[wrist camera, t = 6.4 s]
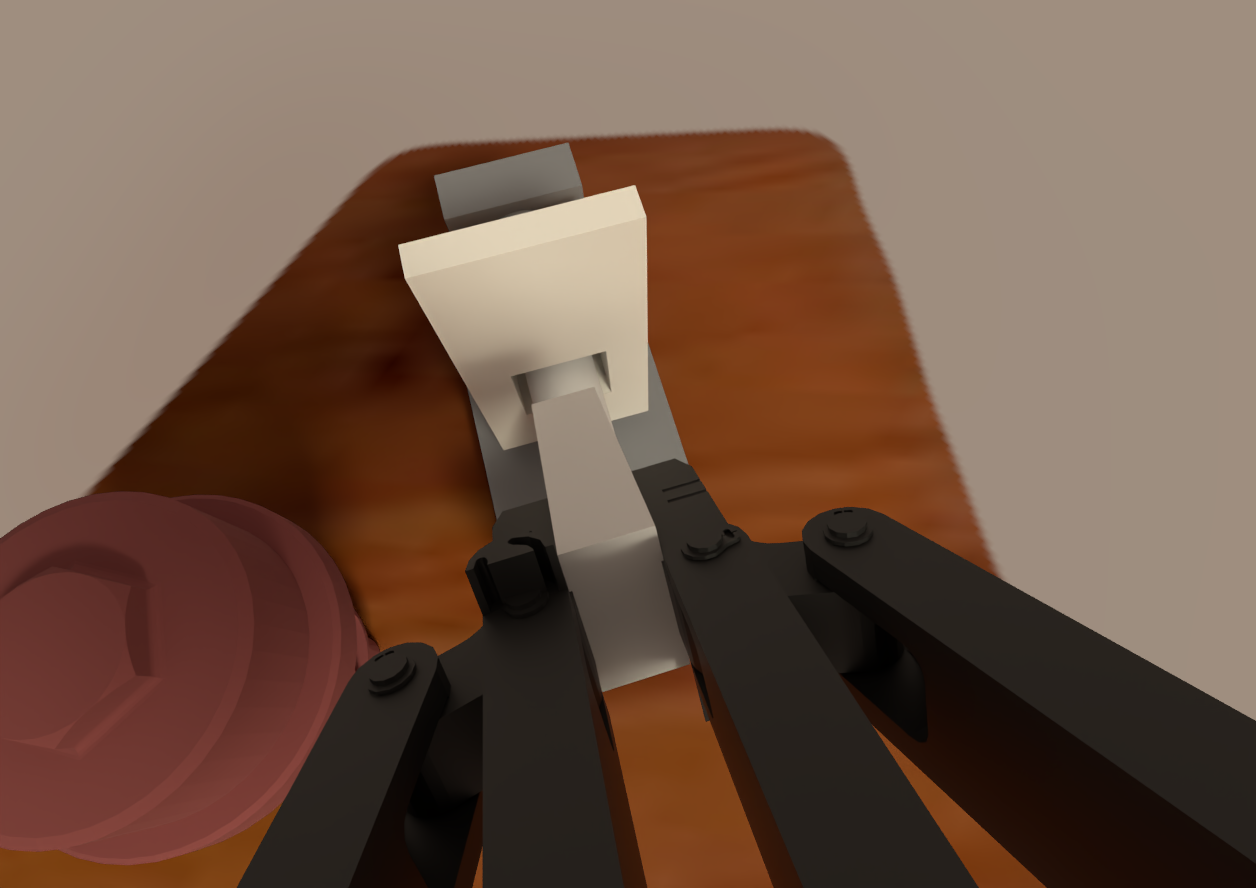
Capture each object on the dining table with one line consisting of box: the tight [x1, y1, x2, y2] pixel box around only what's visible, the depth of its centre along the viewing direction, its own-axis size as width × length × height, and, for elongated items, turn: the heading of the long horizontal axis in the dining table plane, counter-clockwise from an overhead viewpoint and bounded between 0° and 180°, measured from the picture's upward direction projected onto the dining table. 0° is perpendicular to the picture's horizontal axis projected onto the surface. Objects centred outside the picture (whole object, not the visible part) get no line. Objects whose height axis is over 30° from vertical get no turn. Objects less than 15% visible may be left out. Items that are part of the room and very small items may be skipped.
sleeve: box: [398, 185, 648, 450], centre depth 24 cm, size 4×6×12 cm, turn 106°
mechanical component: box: [0, 491, 380, 865], centre depth 22 cm, size 12×10×10 cm
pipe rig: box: [434, 143, 688, 519], centre depth 27 cm, size 17×8×8 cm, turn 16°
